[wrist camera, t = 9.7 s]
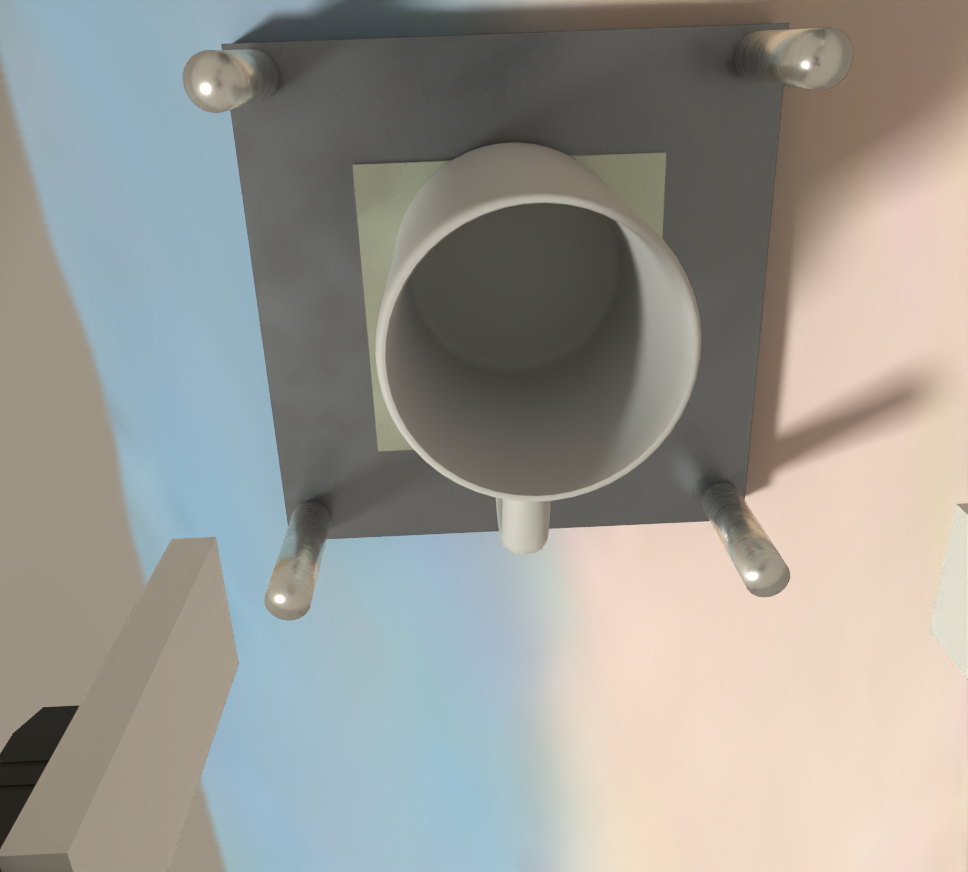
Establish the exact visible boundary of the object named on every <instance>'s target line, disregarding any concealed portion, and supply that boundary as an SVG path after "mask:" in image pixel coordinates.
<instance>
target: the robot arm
mask: <svg viewBox="0 0 968 872" xmlns="http://www.w3.org/2000/svg"><path fill="white" fill-rule="evenodd" d="M930 632H931V634H932V635H933V636H934V637H935V639H936V640H937V641H938V643H939V644H940V645H941V646H942V648H943V649H944V650H945V651H946V653H947V654H948V655H949V656H950V658H951V659H952V660H953V661H954V663H955V664H956V665H957V666H958V668H959V669H960V670H961V671H962V673H963V674H964V675H965V677H966V678H967V679H968V503H967V504H956V507H955V512H954V517H953V521H952V526H951V531H950V536H949V540H948V545H947V550H946V555H945V559H944V564H943V569H942V574H941V578H940V583H939V588H938V593H937V598H936V602H935V607H934V612H933V617H932V621H931V626H930ZM238 664H239V663H238V657H237V652H236V646H235V641H234V635H233V630H232V624H231V619H230V613H229V608H228V602H227V597H226V591H225V586H224V580H223V575H222V569H221V564H220V558H219V553H218V547H217V542H216V537H207V538H185V539H172V540H171V542H170V543H169V545H168V547H167V549H166V551H165V552H164V554H163V556H162V558H161V560H160V562H159V563H158V565H157V567H156V569H155V571H154V572H153V574H152V576H151V578H150V580H149V581H148V583H147V585H146V587H145V589H144V590H143V592H142V594H141V596H140V598H139V600H138V601H137V603H136V605H135V607H134V609H133V611H132V612H131V614H130V616H129V618H128V620H127V621H126V623H125V625H124V627H123V628H122V630H121V632H120V634H119V636H118V637H117V639H116V641H115V643H114V645H113V646H112V648H111V650H110V652H109V654H108V656H107V657H106V659H105V661H104V663H103V665H102V666H101V668H100V670H99V672H98V674H97V675H96V677H95V679H94V681H93V683H92V684H91V686H90V688H89V690H88V692H87V693H86V695H85V697H84V699H83V701H82V702H81V704H80V706H61V707H43V708H42V709H41V710H40V711H39V712H37V713H36V714H35V715H34V716H33V717H32V718H31V719H29V720H28V721H27V722H26V723H25V724H23V725H22V726H21V727H20V728H19V729H18V730H16V731H15V732H14V733H13V734H12V736H11V738H10V740H9V741H8V743H7V744H6V746H5V747H4V749H3V750H2V752H1V754H0V872H168V870H169V867H170V864H171V861H172V859H173V856H174V853H175V850H176V847H177V844H178V841H179V838H180V835H181V832H182V829H183V826H184V823H185V820H186V817H187V814H188V811H189V808H190V806H191V802H192V799H193V797H194V794H195V791H196V788H197V785H198V782H199V779H200V776H201V773H202V770H203V767H204V764H205V761H206V758H207V755H208V752H209V750H210V747H211V744H212V741H213V738H214V735H215V732H216V729H217V726H218V723H219V720H220V717H221V714H222V711H223V708H224V705H225V702H226V699H227V696H228V693H229V691H230V688H231V685H232V682H233V679H234V676H235V673H236V670H237V667H238Z"/></svg>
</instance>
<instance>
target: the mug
mask: <svg viewBox="0 0 968 872" xmlns="http://www.w3.org/2000/svg"><path fill="white" fill-rule="evenodd" d="M700 353H701V327H700V316H699V312H698V308H697V303H696V299H695V295H694V293H693V290H692V288H691V285H690V282H689V280H688V277H687V275H686V273H685V271H684V270H683V268H682V266H681V264H680V262H679V261H678V259H677V257H676V256H675V254H674V253H673V252H672V250H671V249H670V248H669V246H668V245H667V244H666V243H665V241H664V240H663V239H662V237H661V236H660V235H659V234H658V233H656V232H655V231H654V230H653V229H652V228H651V227H650V226H649V225H648V224H647V223H646V222H645V221H644V220H643V219H642V218H641V217H640V216H639V215H638V214H636V213H635V212H634V211H633V210H632V209H631V208H630V207H629V206H628V205H626V204H625V203H624V202H623V201H622V200H621V199H620V198H619V197H618V196H616V195H615V194H614V193H613V192H612V191H611V190H610V189H609V188H608V187H607V186H606V184H605V183H604V182H603V181H602V180H601V179H600V178H599V177H598V176H596V175H595V174H594V173H593V172H592V171H591V170H590V169H589V168H587V167H586V166H585V165H583V164H582V163H580V162H579V161H577V160H576V159H574V158H572V157H570V156H568V155H566V154H565V153H562V152H560V151H557V150H554V149H552V148H549V147H545V146H541V145H536V144H530V143H518V142H514V143H499V144H494V145H489V146H484V147H481V148H478V149H475V150H472V151H469V152H467V153H465V154H463V155H461V156H459V157H457V158H455V159H453V160H452V161H451V162H449V163H448V164H446V165H445V166H443V167H442V168H440V169H439V170H438V171H437V172H436V173H435V174H434V175H433V176H432V177H430V178H429V179H428V181H427V182H426V183H425V184H424V185H423V186H422V188H421V189H420V190H419V191H418V193H417V194H416V196H415V197H414V199H413V201H412V202H411V204H410V205H409V207H408V209H407V211H406V214H405V216H404V218H403V220H402V223H401V226H400V229H399V232H398V235H397V240H396V246H395V252H394V257H393V261H392V265H391V269H390V273H389V276H388V280H387V284H386V288H385V292H384V296H383V299H382V303H381V307H380V312H379V318H378V324H377V330H376V352H375V355H376V364H377V374H378V379H379V383H380V387H381V391H382V395H383V398H384V400H385V403H386V405H387V408H388V410H389V413H390V415H391V417H392V419H393V420H394V422H395V424H396V426H397V427H398V429H399V431H400V432H401V434H402V435H403V436H404V438H405V439H406V440H407V442H408V443H409V444H410V446H411V447H412V448H413V449H414V450H415V451H416V452H417V453H418V454H419V455H420V456H421V457H422V458H423V459H424V460H425V461H426V462H427V463H428V464H429V465H431V466H432V467H433V468H435V469H436V470H437V471H438V472H440V473H441V474H442V475H444V476H446V477H447V478H449V479H451V480H453V481H454V482H456V483H458V484H460V485H462V486H464V487H467V488H469V489H471V490H473V491H476V492H479V493H482V494H485V495H489V496H492V497H496V507H497V518H498V526H499V532H500V537H501V541H502V543H503V544H504V546H505V547H506V548H507V549H508V550H510V551H512V552H514V553H518V554H531V553H535V552H537V551H539V550H541V549H542V548H543V546H544V545H545V543H546V541H547V538H548V531H549V521H550V502H551V501H553V500H559V499H565V498H570V497H575V496H578V495H581V494H585V493H588V492H591V491H594V490H596V489H598V488H601V487H603V486H605V485H607V484H610V483H612V482H613V481H615V480H617V479H619V478H620V477H622V476H624V475H626V474H627V473H629V472H630V471H631V470H633V469H634V468H635V467H637V466H638V465H639V464H641V463H642V462H643V461H645V460H646V459H647V458H648V457H649V456H650V455H651V454H652V453H653V452H654V451H655V450H656V449H657V448H658V447H659V446H660V445H661V443H662V442H663V441H664V440H665V439H666V437H667V436H668V435H669V434H670V433H671V431H672V430H673V428H674V426H675V425H676V423H677V422H678V420H679V419H680V417H681V415H682V413H683V411H684V409H685V407H686V405H687V403H688V401H689V399H690V396H691V393H692V390H693V387H694V384H695V381H696V378H697V372H698V367H699V361H700Z"/></svg>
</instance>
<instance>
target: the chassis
mask: <svg viewBox="0 0 968 872" xmlns="http://www.w3.org/2000/svg"><path fill="white" fill-rule="evenodd" d="M221 45H222V50H207V51H201V52H199V53H197V54H195V55H193V56H192V57H191V58H190V59H189V60H188V62H187V63H186V66H185V68H184V72H183V84H184V88H185V91H186V93H187V95H188V97H189V98H190V100H191V101H192V102H193V103H194V104H195V105H196V106H198V107H199V108H201V109H202V110H205V111H207V112H212V113H220V112H224V111H228V110H231V118H232V125H233V132H234V139H235V146H236V154H237V161H238V168H239V175H240V182H241V190H242V197H243V204H244V211H245V218H246V226H247V233H248V240H249V247H250V254H251V262H252V269H253V276H254V283H255V290H256V298H257V305H258V312H259V319H260V327H261V334H262V341H263V348H264V355H265V363H266V370H267V377H268V384H269V391H270V399H271V406H272V413H273V420H274V427H275V435H276V442H277V449H278V456H279V463H280V471H281V478H282V485H283V492H284V500H285V507H286V514H287V521H288V529H287V532H286V535H285V538H284V541H283V544H282V547H281V550H280V553H279V556H278V559H277V562H276V565H275V568H274V571H273V574H272V577H271V580H270V583H269V586H268V589H267V591H266V594H265V605H266V608H267V609H268V611H269V612H270V613H271V614H272V615H273V616H275V617H277V618H279V619H282V620H296V619H299V618H301V617H302V616H304V615H305V614H306V613H307V612H308V610H309V608H310V604H311V600H312V596H313V592H314V588H315V584H316V580H317V576H318V572H319V568H320V564H321V560H322V556H323V552H324V548H325V544H326V540H327V539H339V538H360V537H381V536H403V535H424V534H445V533H466V532H488V531H499V526H498V518H497V507H496V497H492V496H489V495H485V494H482V493H479V492H476V491H473V490H471V489H469V488H467V487H464V486H462V485H460V484H458V483H456V482H454V481H453V480H451V479H449V478H447V477H446V476H444V475H442V474H441V473H440V472H438V471H437V470H436V469H435V468H433V467H432V466H431V465H429V464H428V463H427V462H426V461H425V460H424V459H423V458H422V457H421V456H420V455H419V454H418V453H417V452H416V451H415V450H414V449H413V448H412V447H411V446H410V444H409V443H408V442H407V440H406V439H405V438H404V436H403V435H402V434H401V432H400V431H399V429H398V427H397V426H396V424H395V422H394V420H393V419H392V417H391V415H390V413H389V410H388V408H387V405H386V403H385V400H384V398H383V395H382V391H381V387H380V383H379V379H378V374H377V364H376V355H375V352H376V330H377V324H378V318H379V312H380V307H381V303H382V299H383V296H384V292H385V288H386V284H387V280H388V276H389V273H390V269H391V265H392V261H393V257H394V252H395V246H396V240H397V235H398V232H399V229H400V226H401V223H402V220H403V218H404V216H405V214H406V211H407V209H408V207H409V205H410V204H411V202H412V201H413V199H414V197H415V196H416V194H417V193H418V191H419V190H420V189H421V188H422V186H423V185H424V184H425V183H426V182H427V181H428V179H429V178H430V177H432V176H433V175H434V174H435V173H436V172H437V171H438V170H439V169H440V168H442V167H443V166H445V165H446V164H448V163H449V162H451V161H452V160H453V159H455V158H457V157H459V156H461V155H463V154H465V153H467V152H469V151H472V150H475V149H478V148H481V147H484V146H489V145H494V144H499V143H514V142H518V143H530V144H536V145H541V146H545V147H549V148H552V149H554V150H557V151H560V152H562V153H565V154H566V155H568V156H570V157H572V158H574V159H576V160H577V161H579V162H580V163H582V164H583V165H585V166H586V167H587V168H589V169H590V170H591V171H592V172H593V173H594V174H595V175H596V176H598V177H599V178H600V179H601V180H602V181H603V182H604V183H605V184H606V186H607V187H608V188H609V189H610V190H611V191H612V192H613V193H614V194H615V195H616V196H618V197H619V198H620V199H621V200H622V201H623V202H624V203H625V204H626V205H628V206H629V207H630V208H631V209H632V210H633V211H634V212H635V213H636V214H638V215H639V216H640V217H641V218H642V219H643V220H644V221H645V222H646V223H647V224H648V225H649V226H650V227H651V228H652V229H653V230H654V231H655V232H656V233H658V234H659V235H660V236H661V237H662V239H663V240H664V241H665V243H666V244H667V245H668V246H669V248H670V249H671V250H672V252H673V253H674V254H675V256H676V257H677V259H678V261H679V262H680V264H681V266H682V268H683V270H684V271H685V273H686V275H687V277H688V280H689V282H690V285H691V288H692V290H693V293H694V295H695V299H696V303H697V308H698V312H699V316H700V327H701V353H700V361H699V367H698V372H697V378H696V381H695V384H694V387H693V390H692V393H691V396H690V399H689V401H688V403H687V405H686V407H685V409H684V411H683V413H682V415H681V417H680V419H679V420H678V422H677V423H676V425H675V426H674V428H673V430H672V431H671V433H670V434H669V435H668V436H667V437H666V439H665V440H664V441H663V442H662V443H661V445H660V446H659V447H658V448H657V449H656V450H655V451H654V452H653V453H652V454H651V455H650V456H649V457H648V458H647V459H646V460H645V461H643V462H642V463H641V464H639V465H638V466H637V467H635V468H634V469H633V470H631V471H630V472H629V473H627V474H626V475H624V476H622V477H620V478H619V479H617V480H615V481H613V482H612V483H610V484H607V485H605V486H603V487H601V488H598V489H596V490H594V491H591V492H588V493H585V494H581V495H578V496H575V497H570V498H565V499H559V500H553V501H551V502H550V521H549V529H551V528H572V527H594V526H615V525H636V524H657V523H679V522H700V521H711V523H712V525H713V527H714V529H715V531H716V532H717V534H718V536H719V538H720V540H721V542H722V543H723V545H724V547H725V549H726V551H727V552H728V554H729V556H730V558H731V560H732V562H733V563H734V565H735V567H736V569H737V571H738V573H739V574H740V576H741V578H742V580H743V582H744V583H745V585H746V587H747V589H748V590H749V591H750V592H751V593H752V594H754V595H756V596H759V597H770V596H773V595H776V594H778V593H780V592H781V591H782V590H783V589H784V588H785V587H786V586H787V584H788V582H789V579H790V571H789V568H788V567H787V565H786V563H785V562H784V560H783V559H782V557H781V556H780V554H779V553H778V551H777V550H776V548H775V547H774V545H773V543H772V542H771V540H770V539H769V537H768V536H767V534H766V533H765V531H764V530H763V528H762V526H761V525H760V523H759V522H758V520H757V519H756V517H755V516H754V514H753V513H752V511H751V509H750V508H749V506H748V505H747V503H746V502H745V500H744V499H745V489H746V478H747V467H748V457H749V446H750V435H751V425H752V414H753V403H754V393H755V382H756V371H757V361H758V350H759V339H760V329H761V318H762V307H763V297H764V286H765V275H766V265H767V254H768V243H769V233H770V222H771V211H772V201H773V190H774V179H775V169H776V158H777V147H778V137H779V126H780V115H781V105H782V94H783V86H791V87H799V88H807V89H815V90H825V89H829V88H831V87H833V86H835V85H837V84H838V83H840V82H841V81H842V80H843V79H844V78H845V76H846V75H847V74H848V72H849V70H850V68H851V65H852V61H853V47H852V44H851V41H850V39H849V38H848V36H847V35H846V34H845V33H843V32H842V31H840V30H838V29H835V28H810V29H789V23H780V24H753V25H725V26H698V27H670V28H643V29H616V30H588V31H561V32H534V33H506V34H479V35H451V36H424V37H397V38H369V39H342V40H315V41H287V42H260V43H232V44H221Z"/></svg>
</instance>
